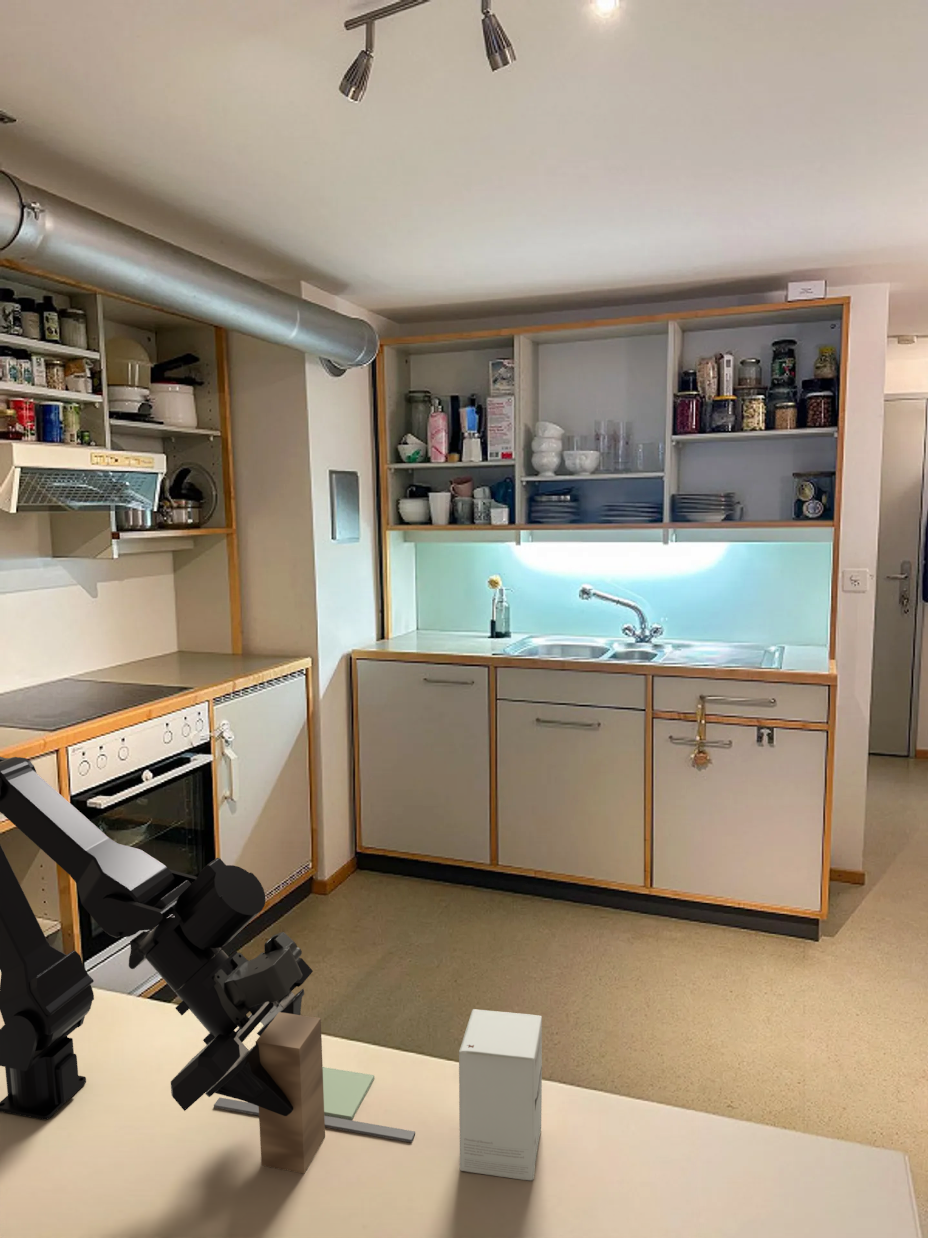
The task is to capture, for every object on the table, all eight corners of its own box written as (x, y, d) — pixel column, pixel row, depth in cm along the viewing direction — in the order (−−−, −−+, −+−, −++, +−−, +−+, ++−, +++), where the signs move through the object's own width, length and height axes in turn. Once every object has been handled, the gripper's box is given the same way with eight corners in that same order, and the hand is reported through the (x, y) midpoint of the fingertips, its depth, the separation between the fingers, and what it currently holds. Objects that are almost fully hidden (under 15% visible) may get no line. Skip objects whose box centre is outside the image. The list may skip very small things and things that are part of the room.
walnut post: (261, 1165, 86) (255, 1042, 84) (284, 1130, 91) (279, 1012, 89) (304, 1174, 85) (299, 1048, 83) (325, 1137, 90) (320, 1018, 88)
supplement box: (534, 1183, 83) (534, 1060, 82) (457, 1172, 85) (456, 1050, 83) (543, 1129, 91) (543, 1014, 89) (472, 1119, 92) (471, 1006, 90)
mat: (263, 1105, 94) (263, 1101, 94) (291, 1065, 101) (291, 1062, 101) (351, 1120, 92) (351, 1116, 92) (374, 1078, 99) (374, 1075, 98)
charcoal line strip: (213, 1107, 94) (213, 1105, 94) (219, 1100, 95) (219, 1097, 95) (411, 1142, 89) (411, 1140, 89) (415, 1134, 90) (415, 1131, 90)
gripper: (192, 974, 77) (313, 1114, 75) (292, 883, 94) (392, 995, 93) (121, 1043, 80) (235, 1179, 79) (230, 943, 98) (325, 1052, 96)
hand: (304, 1092), depth 87 cm, fingers open, 6 cm apart
